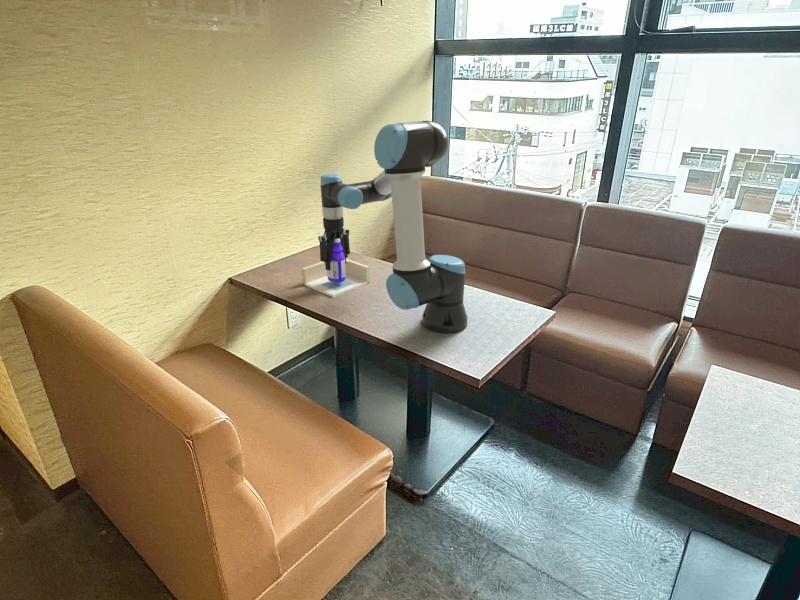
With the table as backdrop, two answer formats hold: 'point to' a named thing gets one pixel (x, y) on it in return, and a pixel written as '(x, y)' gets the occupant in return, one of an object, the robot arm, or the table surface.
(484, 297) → the table surface
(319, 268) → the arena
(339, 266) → the bottle
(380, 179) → the robot arm
